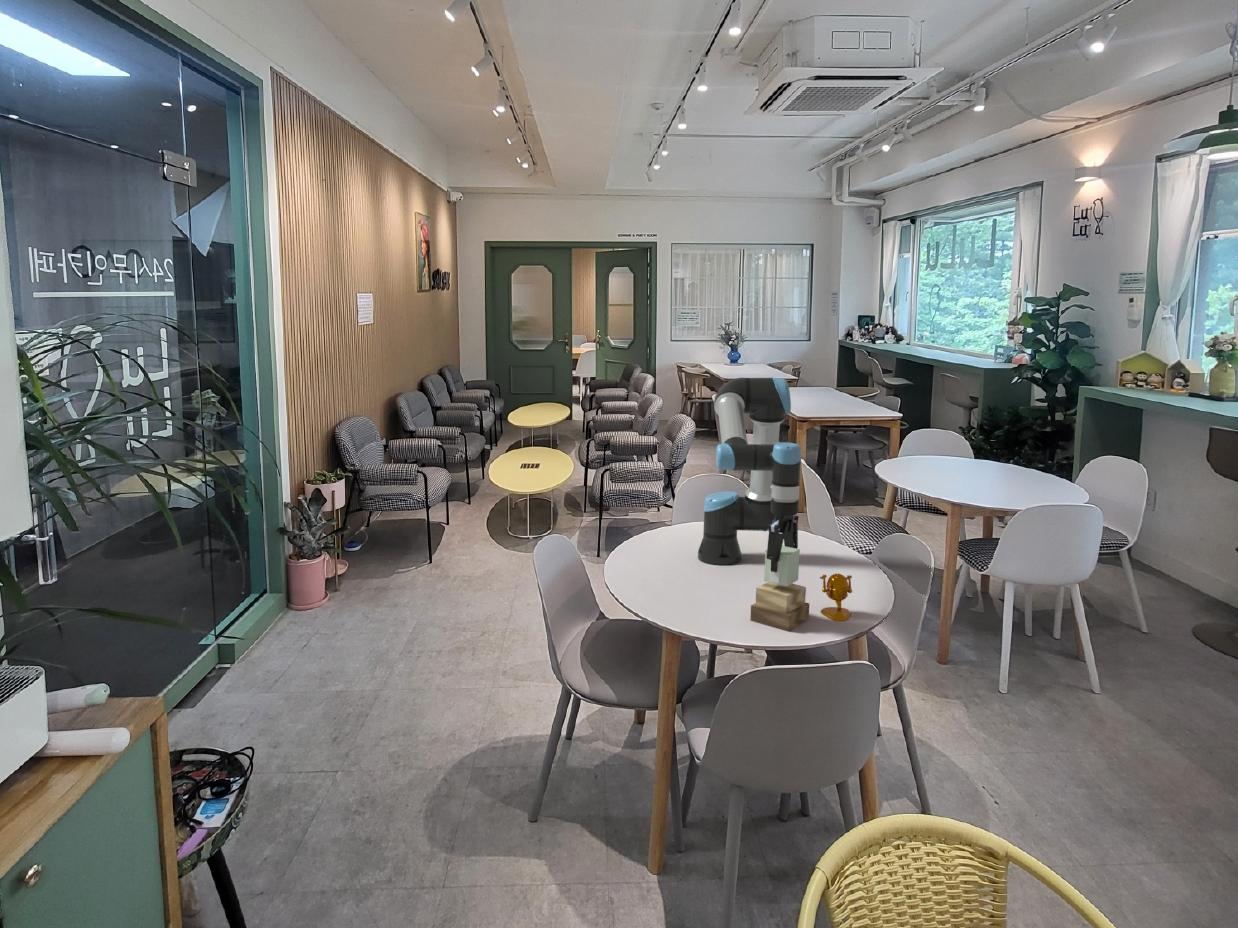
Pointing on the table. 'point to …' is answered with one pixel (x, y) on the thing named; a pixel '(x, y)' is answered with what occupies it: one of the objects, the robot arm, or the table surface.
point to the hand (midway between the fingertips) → (781, 578)
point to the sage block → (785, 566)
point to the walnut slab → (780, 617)
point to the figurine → (837, 596)
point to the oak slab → (780, 596)
